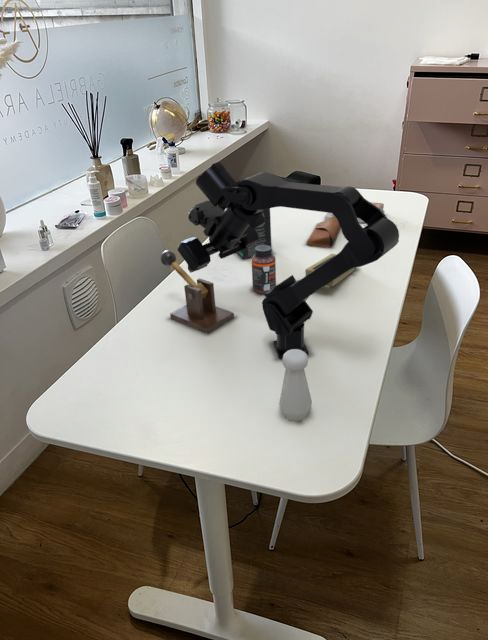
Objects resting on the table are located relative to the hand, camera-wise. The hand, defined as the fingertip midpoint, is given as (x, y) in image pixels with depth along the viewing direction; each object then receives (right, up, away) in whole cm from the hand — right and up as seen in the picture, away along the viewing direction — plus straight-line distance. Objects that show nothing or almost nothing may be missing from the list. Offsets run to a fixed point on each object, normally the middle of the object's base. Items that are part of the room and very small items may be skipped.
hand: (205, 263), depth 125 cm
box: (+31, 0, +23) cm, 39 cm away
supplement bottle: (+13, -4, +19) cm, 23 cm away
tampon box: (+9, +10, +40) cm, 42 cm away
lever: (-6, -3, +5) cm, 9 cm away
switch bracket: (-1, -12, +7) cm, 14 cm away
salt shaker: (+19, -31, -23) cm, 43 cm away
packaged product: (+43, +24, +60) cm, 78 cm away
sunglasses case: (+32, +16, +48) cm, 59 cm away
